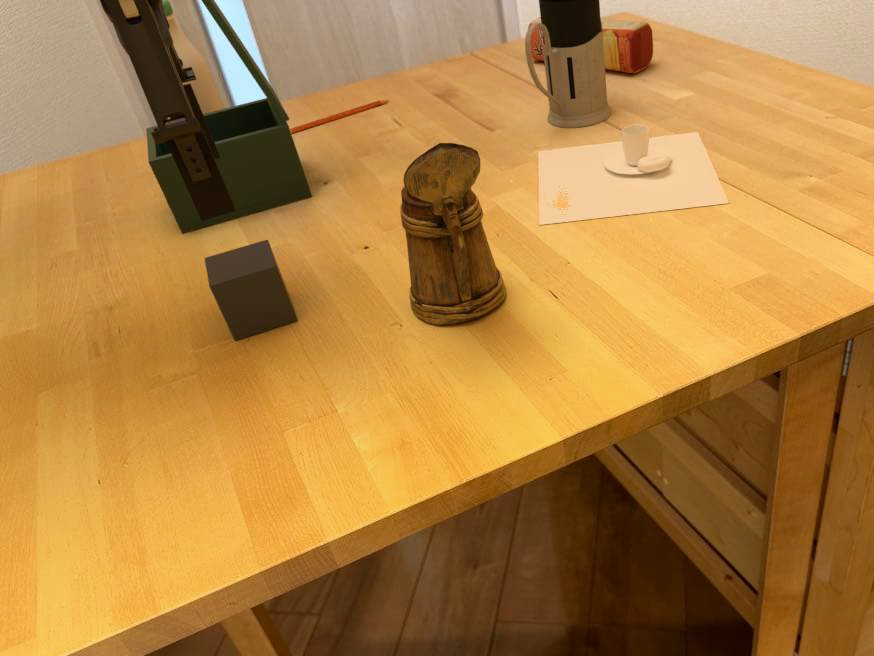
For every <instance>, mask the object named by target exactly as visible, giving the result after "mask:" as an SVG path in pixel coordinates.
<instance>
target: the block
mask: <svg viewBox="0 0 874 656" xmlns="http://www.w3.org/2000/svg"><path fill="white" fill-rule="evenodd" d="M204 263H205V270H206V276H207V281H208V287H209V289H210V291H211V292H212V295H213V297H214V300H215V302H216V304H217V306H218V308H219V310H220V312H221V315H222V316H223V319H224V321H225V323H226V325H227V328H228V329H229V332H230V334H231V336H232V338H233V341H234V342H237V341H239V340H243V339H245V338H249V337H252V336H255V335H258V334H261V333H264V332H267V331H270V330H273V329H277V328H279V327H283V326H286V325H289V324H292V323H296V322H298V321H299V319H298V316H297V312H296V310H295V308H294V304H293V302H292V299H291V295H290V292H289V290H288V288H287V285H286V282H285V279H284V278H283V274H282V272H281V270H280V267H279V265H278V262H277V259H276V257H275V254H274V252H273V248H272V247H271V244H270V241H269V239H264V240H261V241H258V242H254V243H251V244H247V245H244V246H240V247H237V248H234V249H231V250H227V251H223V252H219V253H217V254H213V255H210V256H207V257H204Z"/></svg>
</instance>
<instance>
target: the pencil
mask: <svg viewBox="0 0 874 656" xmlns="http://www.w3.org/2000/svg"><path fill="white" fill-rule="evenodd" d="M389 101H390V99H380V100H376V101H373V102H370V103H367V104H363V105H360V106H357V107H353V108H350V109H348V110H345V111H341V112H338V113H336V114H332V115H329V116H326V117H322V118H320V119H316V120H313V121H311V122H307V123H304V124H301V125H298V126H295V127H291V128H289V129H290V132H291V135H294V134H297V133H300V132H303V131H306V130H309V129H312V128H316V127H319V126H321V125H325V124H327V123H328V124H329V123H330V122H334V121H337V120H339V119H343V118H346V117H349V116H352V115H355V114H358V113H362V112H365V111H368V110H371V109H373V108H374V109H375V108H377V107H380V106H383V105H384V104H386V103H388V102H389Z"/></svg>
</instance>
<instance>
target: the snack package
mask: <svg viewBox="0 0 874 656" xmlns="http://www.w3.org/2000/svg"><path fill="white" fill-rule="evenodd" d="M600 19H601V18H600ZM535 22H536V23H541V16H539V17H537V18H536V19H534V20H532V21H531V22H530V23H529V24H528V26H527V29H528V28H529V27H530V26H531V25H532V24H533V23H535ZM601 22H602V30H603V44H604V60H605V70H609V71H614V72H615V71H617V72H622V73H628V74H636V73H639V72H640V71H642V70H644V69H646V68H647V67H648V66H649V64H650V63H651V62H652V59H653V57H654V37H653V30H652V26H651V24H649V22H647V21H644V20H623V19H601ZM542 38H543V33H542V30H541V29H540V27H539V26H537V27H536V28H535V29H534V30H533V33H532V35H531V54H532V60H535V61H539V62H541V61H543V62H544V55H543V46H542Z"/></svg>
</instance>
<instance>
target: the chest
mask: <svg viewBox="0 0 874 656" xmlns="http://www.w3.org/2000/svg"><path fill="white" fill-rule="evenodd" d="M203 115H204V118H205V120H206V123H207V125H208V128H209V130H210V132H211V135H212V137H213V140H214V142H215V145H216V147H217V150H218V152H219V154H220V158H217V159H215V161H216V163H217V165H218V168H219V170H220V173H221V175H222V178H223V180H224V182H225V185H226V187H227V190H228V192H229V194H230V197H231V199H232V202H233V204H234V206H235V209H236V211H235V212H231V213H228V214H225V215H221V216H218V217H214V218H211V219H207V220H204V221H202V220H201V218H200V216H199V214H198V211H197V209H196V207H195V205H194V203H193V200H192V198H191V196H190V194H189V192H188V189H187V187H186V185H185V183H184V181H183V178H182V176H181V174H180V172H179V169H178V167H177V165H176V163H175V161H174V158H173V156H172V154H171V152H170V150H169V147H168V145H167V143H166V142H163V143H159V144H156V143H155V141H154V139H153V136H152V134H151V132H154V131H158V130H157V128H158V125H157V124H156V125H153V126H150V127H146V129H145V131H146V144H147V160H148V164H149V166H150V168H151V171H152V173H153V175H154V177H155V179H156V181H157V183H158V186H159V188H160V189H161V192H162V194H163V196H164V198H165V200H166V202H167V204H168V207H169V209H170V211H171V214H172V215H173V217H174V220H175V222H176V223H177V226H178V229H179V230H180V232H181V234H186V233H189V232H192V231H193V232H194V231H196V230H200V229H203V228H206V227H210V226H213V225H217V224H221V223H224V222H227V221H231V220H234V219H238V218H241V217H245V216H249V215H252V214H256V213H259V212H263V211H266V210H269V209H273V208H277V207H281V206H283V205H287V204H291V203H294V202H298V201H301V200H305V199H308V198H311V197H313V195H312V191H311V188H310V186H309V183H308V180H307V177H306V174H305V171H304V168H303V165H302V162H301V159H300V156H299V153H298V150H297V147H296V144H295V141H294V138H293V134H291V132H290V129H291V128H290V126H289V123H288V121H286V122H283V121H282V119H281V118H280V116H279V115H278V113H277V112H276V110H275V109H274V107H273V106H272V104H271V103H270V101H269V100H268V98H267V97H265V98H261V99H257V100H254V101H248V102H246V103H241V104H237V105H234V106H229V107H225V108H224V109H221V110H217V111H213V112H209V113H205V114H203Z"/></svg>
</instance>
